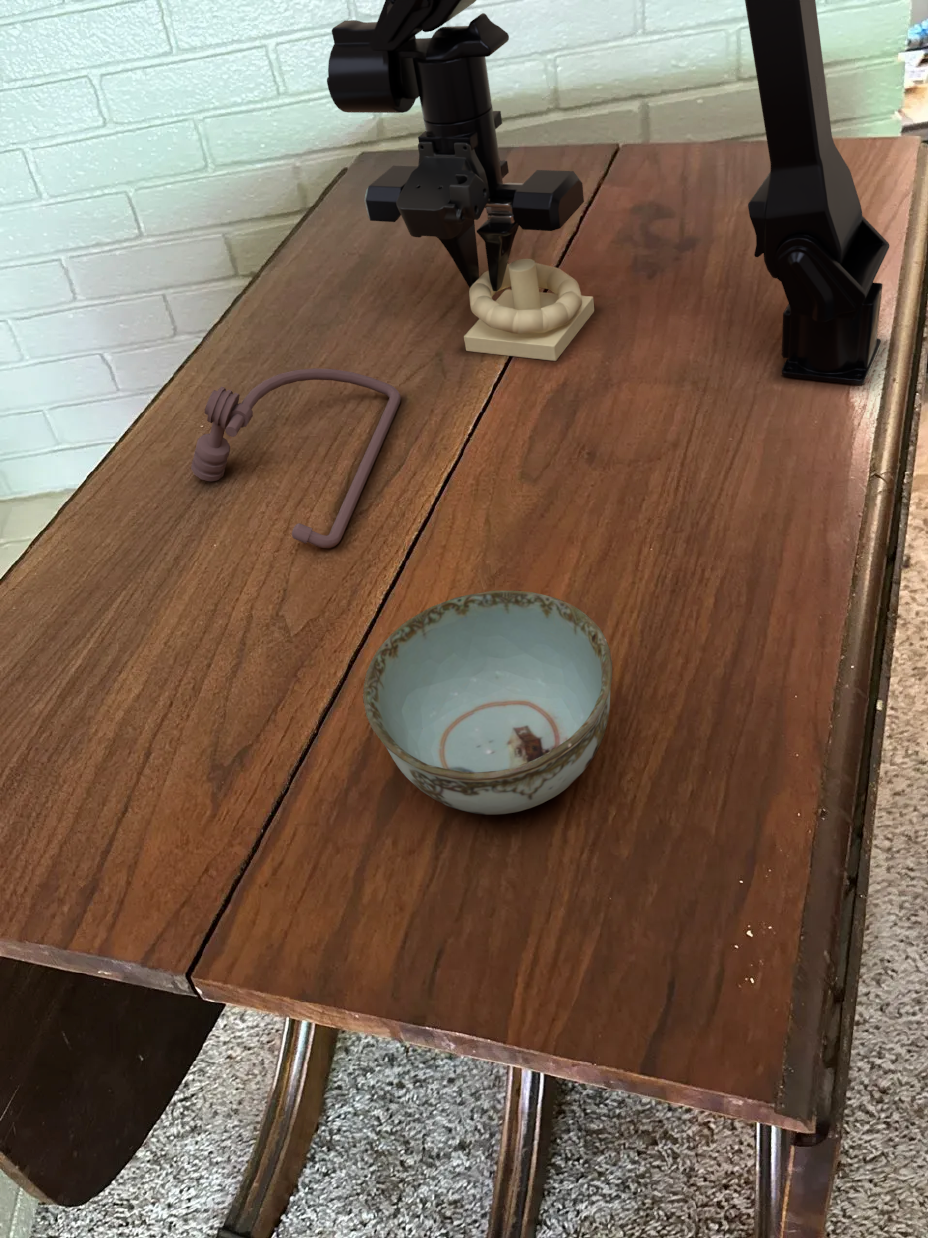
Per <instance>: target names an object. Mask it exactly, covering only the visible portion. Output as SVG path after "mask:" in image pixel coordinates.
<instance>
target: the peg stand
mask: <svg viewBox="0 0 928 1238" xmlns="http://www.w3.org/2000/svg"><path fill="white" fill-rule="evenodd" d="M536 263H537V262H536V261H535V260H534V259H531V258H519V259H516V260H513V261H512V262H511V263H509V264H510V265H509V274H510V281H511V287H510V288H511V289H508V288H506V289H504V291H503V292H502V293H501V294H500V295H499V297H498V298H497V299H495V300H494V301H495V302H496V303H498V304H499V305H500V306H504V307H508V308H512V309H516V310H532V309H541V308H544V307H547V306H549V305H552V304H554V303H556V301H557V300H558V299H559V297H558V295H556V294H555V293H554V292H541V291H540V287H539V286H538V278H537V270H536ZM581 296H582V305H581V307H580V309H579V310H578V311H577V313H576V314H575V315H574V317H573V318H572V319H571V320H570V321H569V322H568V323H567V324H565V325H562V326H560V327H557V328H554V329H552V330H549V331H547V332H544V333H525V334H514V333H510V332H507V331H503V330H499V329H495V328H491V327H489V326H488V325H487V324H486V323H484V322H483V321H482V320H481V319H479V318H478V320H477V321H476V322H475V323H474V325H473V326H472V327H470V329H469V330H468V331H467V332H466V334H464V335H463V340H464V347H465V350H466V352H472V353H473V352H474V353H482V354H490V355H498V356H499V355H500V356H507V357H516V358H526V359H533V360H534V359H535V360H543V361H551V362H556V361H557V360H558V359H559V358H560V356H562V354H563V353H564V351H565V350H566V349H567V348H568V346H569V345H570V344H571V342H572V341H573V340H574V338H576V336H577V334H578V333H579V332H580V330H581V329H582V328H583V327H584V325H585V324H586V323H587V321H588V320H589V319H590V318H591V316H593V314H594V312H595V305H594V303H595V302H594V301H595V300H594V296H588V295H581Z"/></svg>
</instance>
